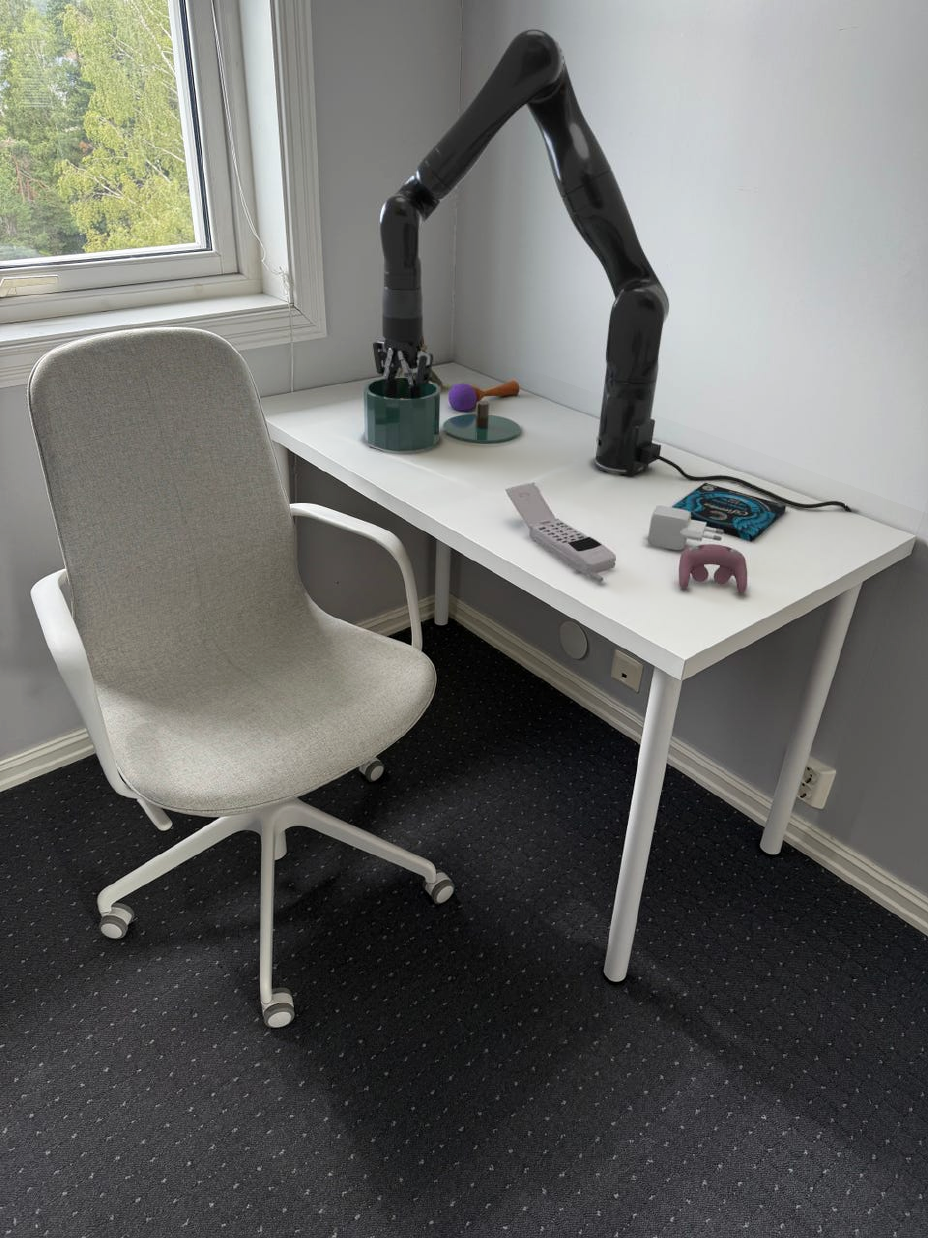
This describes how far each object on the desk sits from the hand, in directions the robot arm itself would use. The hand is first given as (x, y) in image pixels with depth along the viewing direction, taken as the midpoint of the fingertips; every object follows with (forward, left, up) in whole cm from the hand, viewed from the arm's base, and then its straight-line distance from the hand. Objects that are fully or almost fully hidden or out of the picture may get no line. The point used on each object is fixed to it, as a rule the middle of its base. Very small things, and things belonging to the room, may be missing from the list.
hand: (402, 400), depth 177 cm
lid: (-8, -15, -7) cm, 19 cm away
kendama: (+3, -29, -8) cm, 30 cm away
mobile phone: (-50, +16, -8) cm, 53 cm away
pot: (0, 0, -8) cm, 8 cm away
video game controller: (-73, +10, -8) cm, 74 cm away
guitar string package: (-63, -15, -8) cm, 65 cm away
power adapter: (-64, +2, -8) cm, 65 cm away
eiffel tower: (+20, -25, -8) cm, 33 cm away
